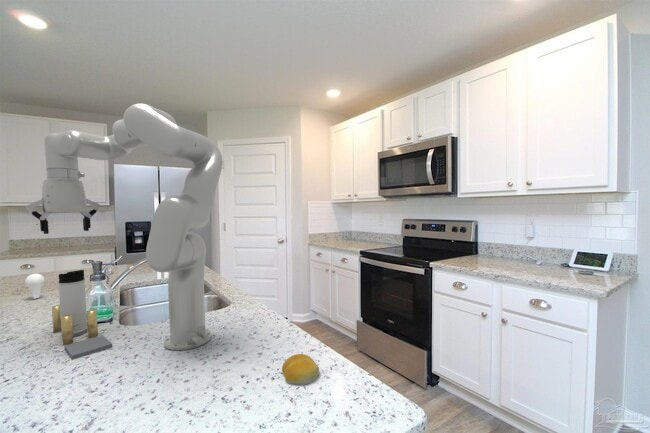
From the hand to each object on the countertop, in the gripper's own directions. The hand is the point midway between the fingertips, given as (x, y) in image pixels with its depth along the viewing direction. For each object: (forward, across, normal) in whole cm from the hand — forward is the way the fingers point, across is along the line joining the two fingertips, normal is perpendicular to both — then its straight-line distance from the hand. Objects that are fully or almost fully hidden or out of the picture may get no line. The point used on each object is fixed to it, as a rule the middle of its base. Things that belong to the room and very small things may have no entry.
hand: (66, 232), depth 96 cm
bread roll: (+33, -28, +71) cm, 83 cm away
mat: (+32, 0, +15) cm, 35 cm away
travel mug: (+32, 0, 0) cm, 32 cm away
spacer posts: (+32, 0, 0) cm, 32 cm away
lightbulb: (+31, +1, -60) cm, 68 cm away
